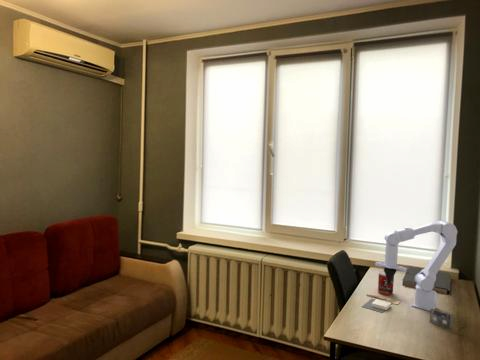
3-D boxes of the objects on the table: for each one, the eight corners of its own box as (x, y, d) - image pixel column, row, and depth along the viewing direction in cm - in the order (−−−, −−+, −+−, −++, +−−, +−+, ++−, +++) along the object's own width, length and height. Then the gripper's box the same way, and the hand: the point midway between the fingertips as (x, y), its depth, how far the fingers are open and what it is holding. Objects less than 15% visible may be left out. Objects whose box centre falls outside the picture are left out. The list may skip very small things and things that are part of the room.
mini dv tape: (450, 327, 162) (451, 314, 161) (449, 328, 161) (450, 315, 160) (431, 321, 168) (431, 308, 167) (429, 322, 167) (430, 309, 166)
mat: (391, 304, 186) (391, 303, 186) (382, 312, 175) (382, 312, 175) (371, 298, 192) (371, 298, 192) (361, 306, 181) (361, 306, 181)
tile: (391, 302, 182) (376, 299, 187) (386, 307, 177) (371, 303, 181) (390, 306, 183) (376, 302, 187) (386, 310, 177) (371, 306, 182)
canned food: (377, 294, 199) (378, 274, 198) (377, 289, 206) (379, 269, 206) (392, 296, 196) (394, 276, 195) (392, 291, 204) (394, 271, 203)
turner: (400, 302, 189) (400, 300, 189) (397, 305, 185) (397, 303, 185) (368, 294, 199) (369, 292, 199) (365, 296, 195) (365, 295, 195)
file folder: (408, 265, 242) (451, 273, 230) (408, 271, 242) (450, 279, 230) (401, 279, 214) (449, 288, 202) (401, 286, 214) (449, 296, 202)
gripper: (373, 255, 187) (372, 281, 187) (404, 260, 177) (402, 288, 178) (378, 252, 192) (377, 278, 193) (408, 258, 183) (406, 285, 184)
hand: (389, 283), depth 186 cm, fingers closed
